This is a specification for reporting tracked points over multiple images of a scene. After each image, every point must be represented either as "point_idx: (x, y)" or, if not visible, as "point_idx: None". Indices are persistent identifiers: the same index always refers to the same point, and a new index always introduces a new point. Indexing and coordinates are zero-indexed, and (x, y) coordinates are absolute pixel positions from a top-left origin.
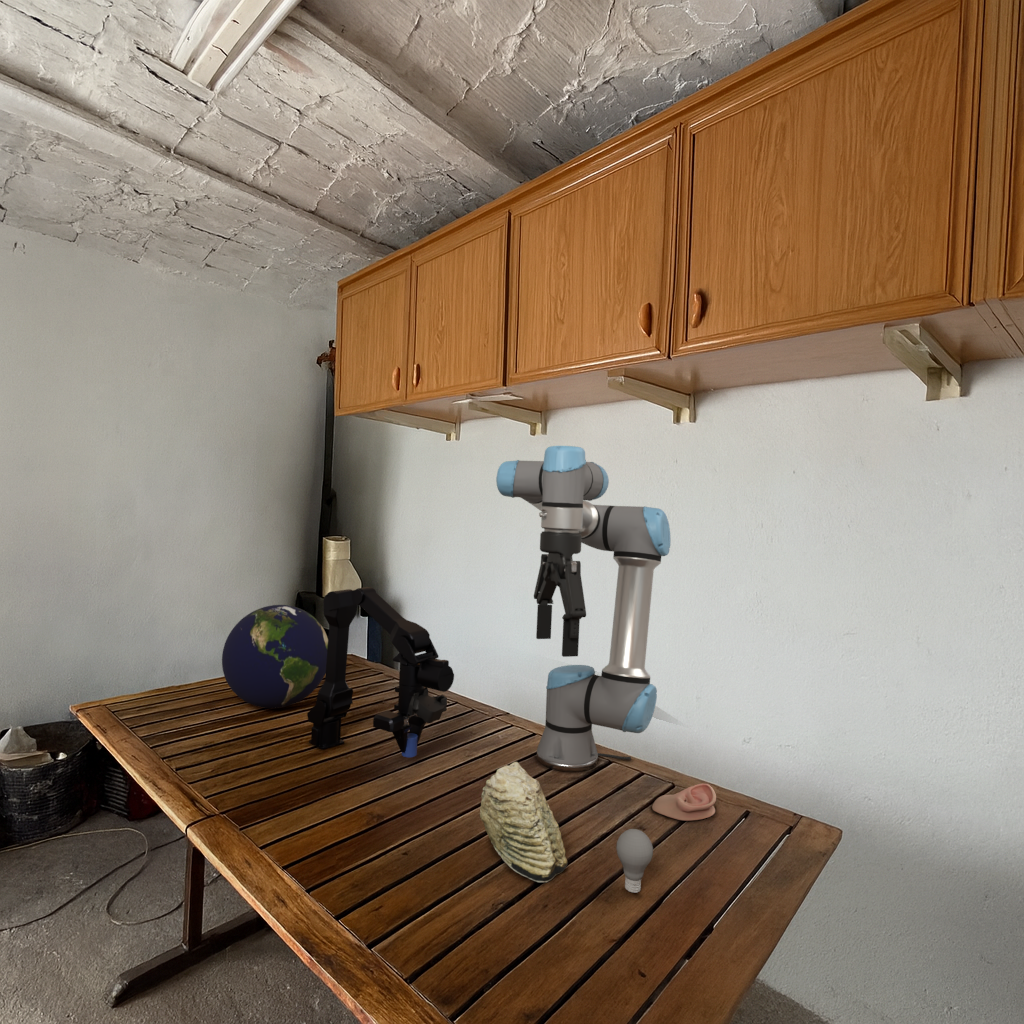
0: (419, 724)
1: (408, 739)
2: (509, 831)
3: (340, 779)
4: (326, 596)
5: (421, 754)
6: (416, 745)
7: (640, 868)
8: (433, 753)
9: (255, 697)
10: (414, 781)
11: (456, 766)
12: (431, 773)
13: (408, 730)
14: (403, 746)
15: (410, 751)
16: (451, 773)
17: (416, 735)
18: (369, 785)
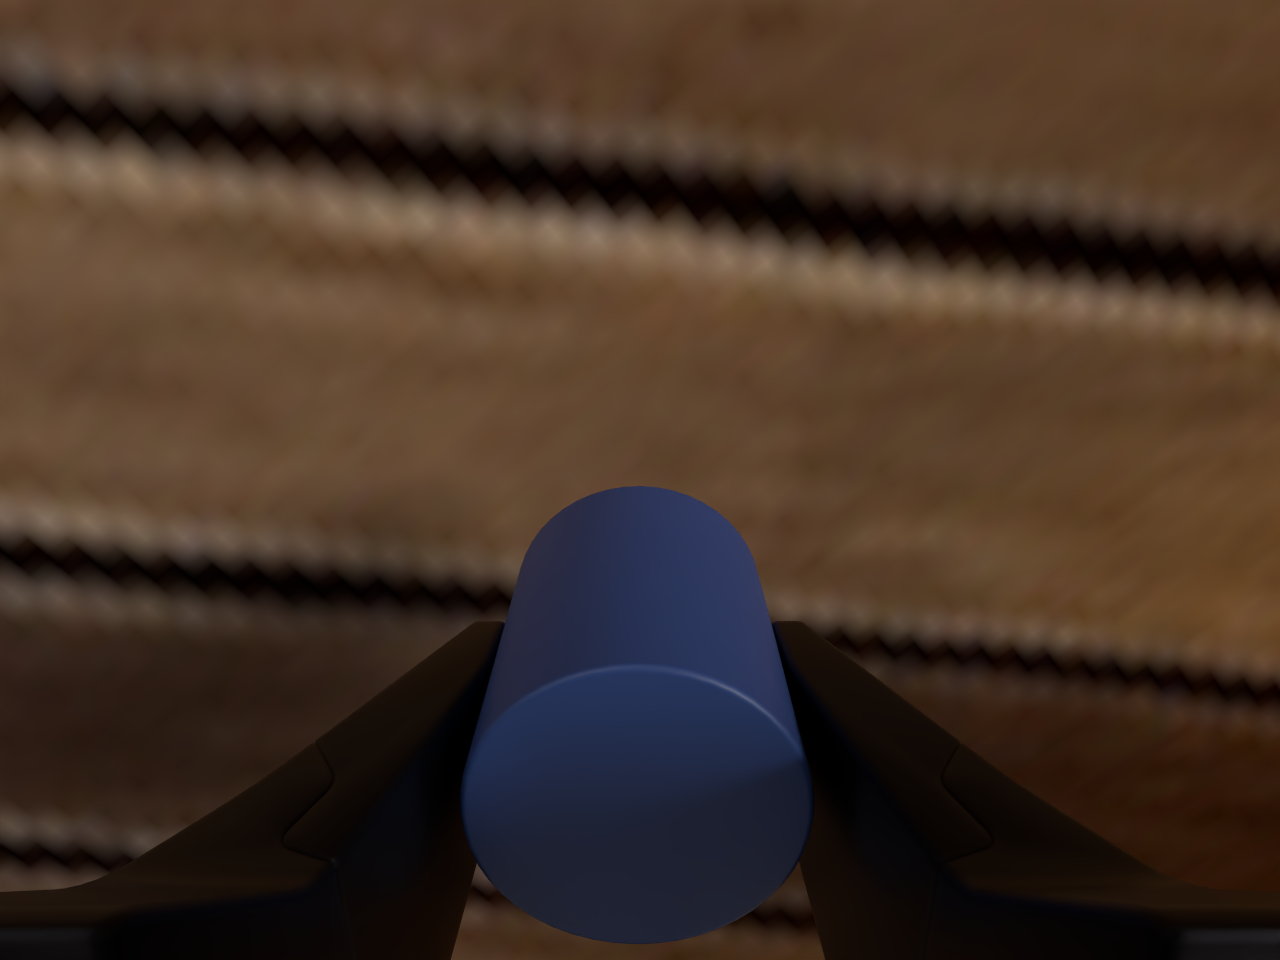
0: (317, 958)
1: (788, 730)
2: None
3: (1149, 862)
4: None
5: (171, 683)
6: (597, 568)
7: None
8: (37, 604)
9: None
10: (780, 268)
11: (42, 113)
12: (460, 250)
13: (995, 889)
14: (866, 683)
15: (727, 557)
16: (259, 12)
17: (517, 732)
18: (1136, 592)
